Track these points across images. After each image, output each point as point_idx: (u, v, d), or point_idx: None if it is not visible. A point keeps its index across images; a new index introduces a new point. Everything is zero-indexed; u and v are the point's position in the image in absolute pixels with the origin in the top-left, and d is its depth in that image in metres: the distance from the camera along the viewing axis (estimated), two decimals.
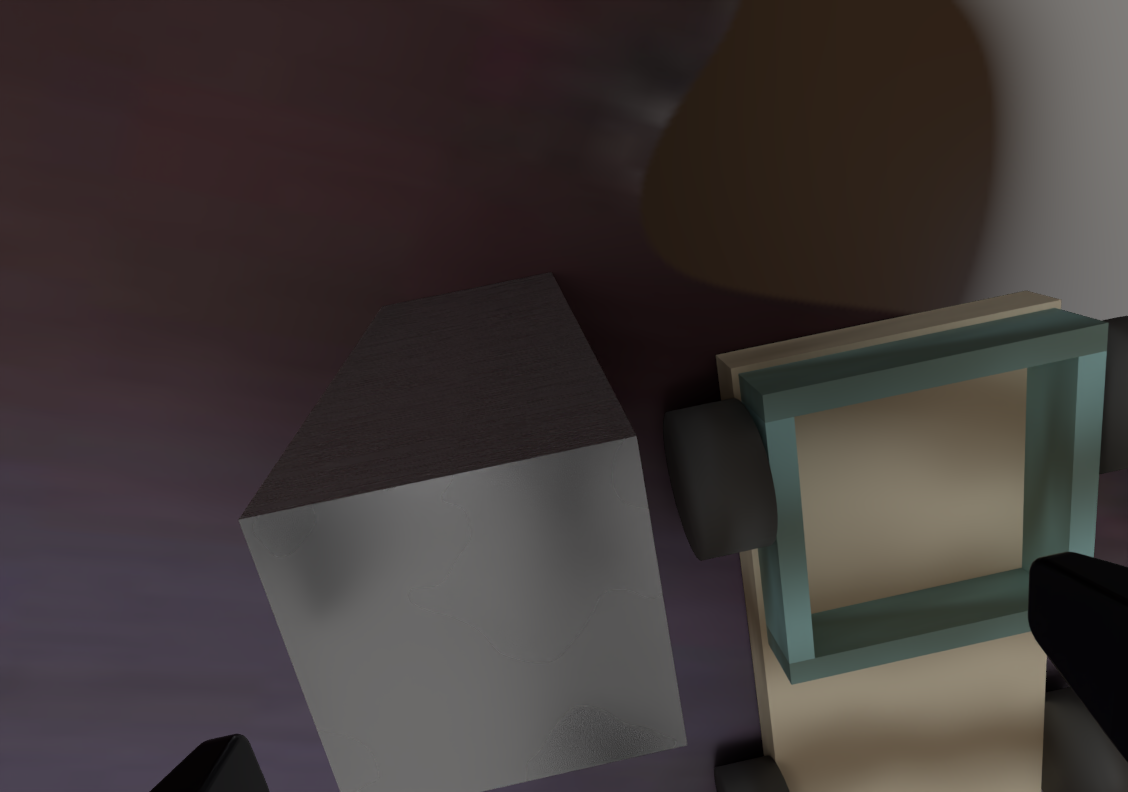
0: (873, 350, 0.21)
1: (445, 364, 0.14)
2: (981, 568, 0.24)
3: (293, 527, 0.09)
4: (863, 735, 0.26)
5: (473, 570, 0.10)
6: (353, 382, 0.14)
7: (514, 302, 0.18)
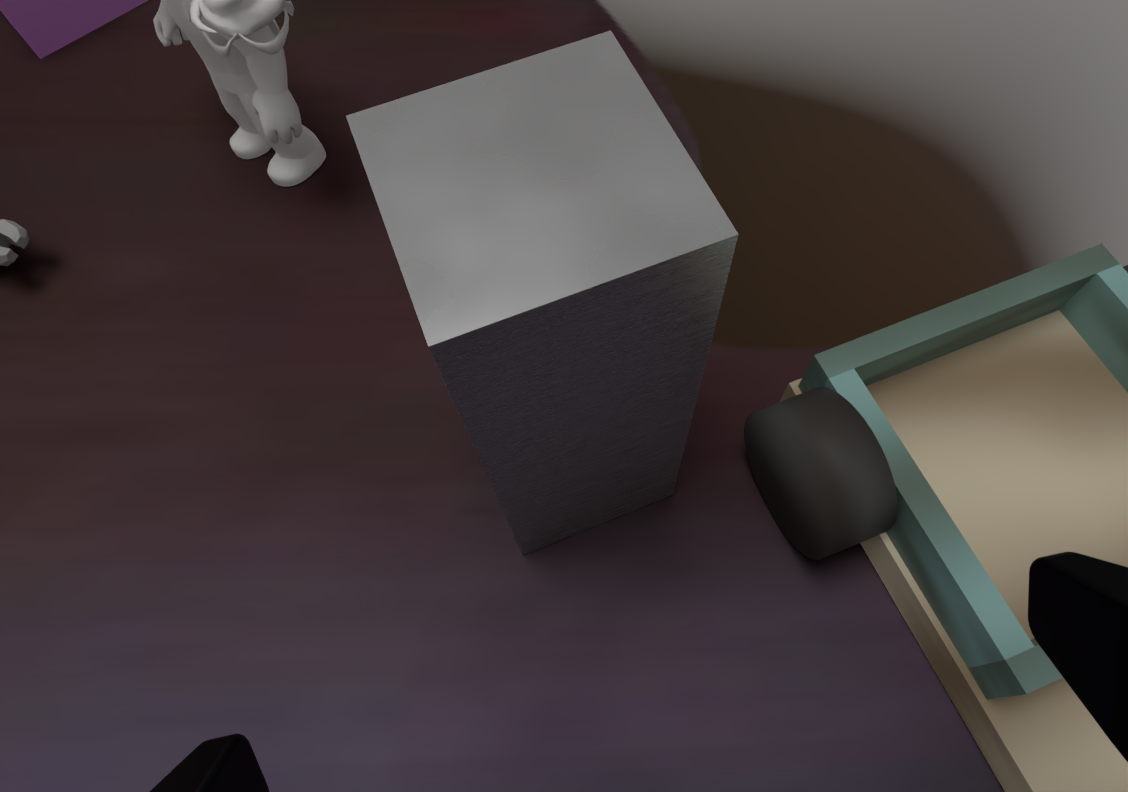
0: None
1: None
2: None
3: (382, 114, 0.13)
4: None
5: (513, 122, 0.13)
6: None
7: None
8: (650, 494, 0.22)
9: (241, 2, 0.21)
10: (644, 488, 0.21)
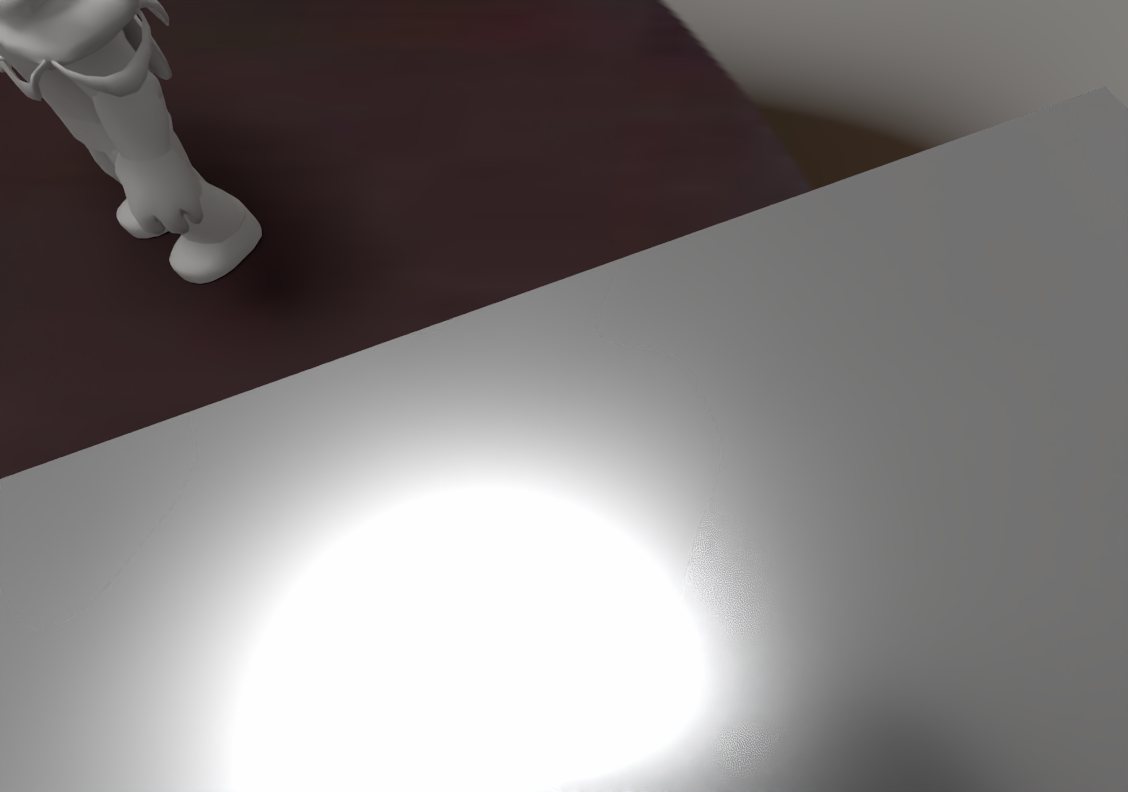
0: None
1: None
2: None
3: (116, 500, 0.03)
4: None
5: (772, 580, 0.02)
6: None
7: None
8: None
9: (48, 1, 0.11)
10: None
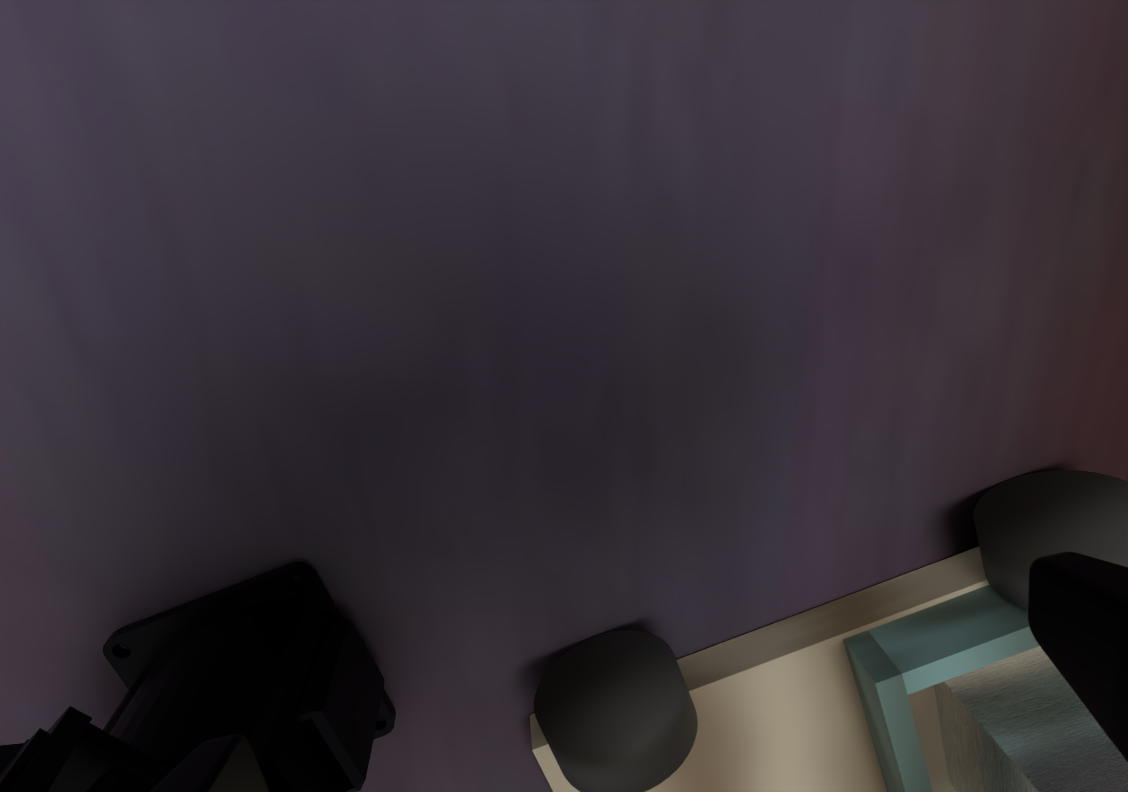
0: None
1: None
2: None
3: None
4: (724, 763, 0.24)
5: None
6: None
7: None
8: (964, 788, 0.24)
9: None
10: None
